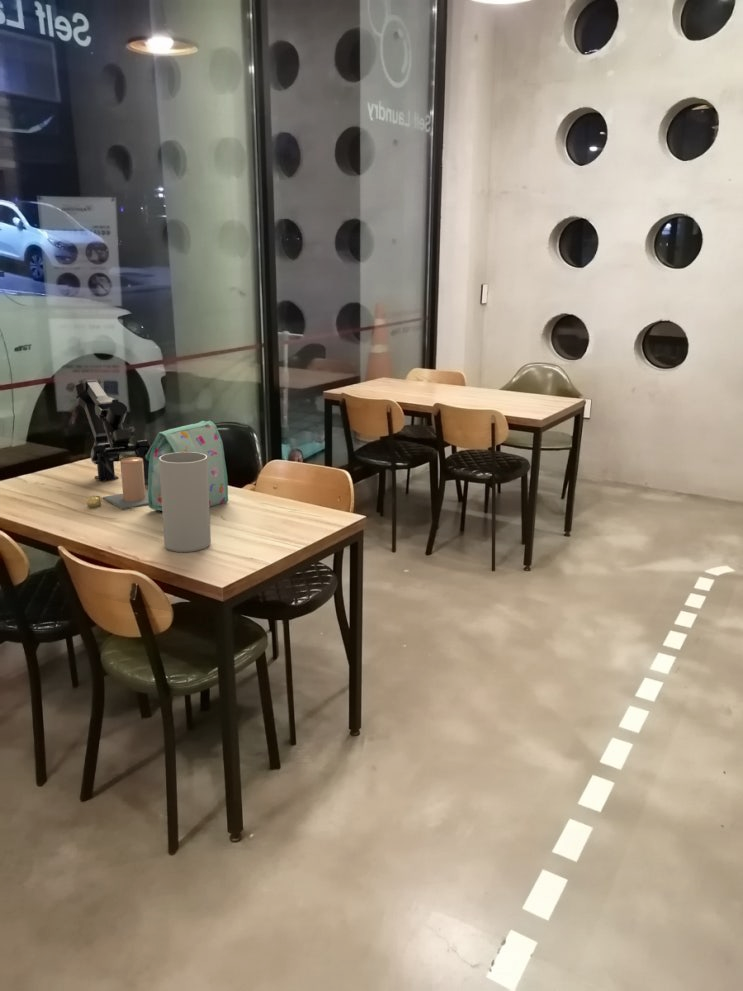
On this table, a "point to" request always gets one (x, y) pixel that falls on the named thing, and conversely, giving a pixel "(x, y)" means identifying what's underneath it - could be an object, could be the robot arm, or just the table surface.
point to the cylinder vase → (185, 501)
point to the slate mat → (124, 504)
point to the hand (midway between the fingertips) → (127, 471)
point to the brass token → (93, 501)
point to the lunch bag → (189, 440)
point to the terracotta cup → (133, 479)
